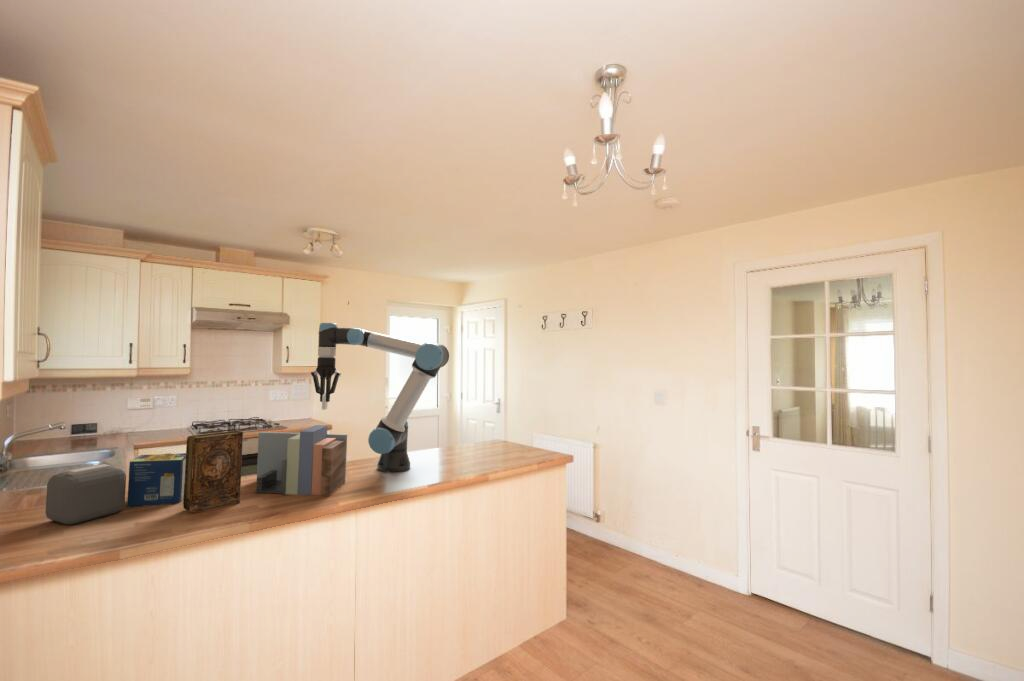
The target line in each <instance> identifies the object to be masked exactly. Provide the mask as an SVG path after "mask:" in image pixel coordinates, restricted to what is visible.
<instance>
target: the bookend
mask: <svg viewBox="0 0 1024 681" xmlns="http://www.w3.org/2000/svg"><path fill="white" fill-rule="evenodd" d="M286 469H287V457H286V458H284V459H282V476H281V480H277V470H271V471H269V472H267V473H265V474H264V475H262V476H260V477H258V478H257V477H256V490H255V492H254V494H255V493H256V494H257V493H258V494H259V493H261V494H265V493H267V494H281V495H286V494H285V491H286Z"/></svg>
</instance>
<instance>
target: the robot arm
mask: <svg viewBox="0 0 1024 681" xmlns="http://www.w3.org/2000/svg"><path fill="white" fill-rule="evenodd" d="M337 345H350V346H351V345H352V346H362V347H365V348H370V349H374V350H379V351H384V352H388V353H391V354H397V355H400V356H404V357H408V358H411V359H414V360H413V362H412V364H411V368H412V371H411V373H410V374H409V376H408V378H407V380H406V381H405V383H404V385H403V387H402V388H401V390H400V392H399V394H398V395H397V397H396V399H395V401H394V402H393V405H392V406H391V408H390V410H389V411H388V413H387V415H386V416H383V417H381V418H380V421H379V422H378V424H377V425H376V428H373V429H372V430H371V432H369V435H368V439H367V440H368V441H367V442H368V445H369V447H370V449H371V450H372V451H373V452H374V453H375V454H379V455H380V456H379V458H378V461H377V466H376V469H377V471H380V472H384V473H398V472H399V473H400V472H406V471H408V470H410V469H411V461H410V458H409V454H408V436H409V435H408V432H409V422H408V419H409V417H410V415H411V414H412V412H413V410H414V408H415V406H416V404H417V403H418V402H419V399H420V398H421V396H422V394H423V392H424V391H425V389H426V387H427V385H428V384H429V382H430V380H431V379H434V378H436V376H437V375H438V373H439V371H440V369H441V368H443V367H445V366H446V364H447V363H448V362H449V359H450V352H449V350H448V349H447V347H446V346H445V345H443V344H441V343H440V342H439V343H437V342H422V343H421V342H418V341H417V342H416V341H413V340H412V341H411V340H408V339H404V338H400V337H395V336H391V335H389V334H387V335H386V334H383V333H379V332H374V331H370V330H367V329H363V328H359V327H338V325H337V323H334V322H320V324H319V329H318V346H317V348H318V349H317V356H318V357H317V367H316V369H315V370H314V371H310V374H311V376H312V379H313V384H314V389H315V390H314V391H315V393H316V394H318V395H319V402H320V403H321V410H324V411H326V410H327V409H328V403H330V402H331V401H330V398H331V395H332V394H334V393H335V391H336V387H337V384H338V381H339V377H341V375H342V373H341V372H340V371H338V370H337V369H336V356H337V355H336V354H337ZM318 375H319V377H318ZM333 375H334V377H333ZM332 377H333V379H332ZM319 380H320V382H319Z"/></svg>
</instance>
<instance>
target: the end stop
mask: <svg viewBox="0 0 1024 681" xmlns="http://www.w3.org/2000/svg"><path fill="white" fill-rule="evenodd" d="M345 450H346V440H336V441H334V442H333V443H331V444H329V445H327V446H326V447H324V448H322V469H321V493H320V497H321V496H322V497H330V496H332V495H333V494H334V493H335V492H336V491H337V490H338V489H339V488H341V487H342V486H343V485H344V484H345V483H344V474H345Z"/></svg>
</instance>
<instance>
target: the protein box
mask: <svg viewBox="0 0 1024 681" xmlns="http://www.w3.org/2000/svg"><path fill="white" fill-rule="evenodd" d="M185 464H186V452H185V453H161V454H159V453H158V454H140V455H139V456H137V457H135V458H133V459H132V460H130V461H129V466H128V467H129V468H128V484H127V485H128V486H127V487H128V489H127V502H126V503H127V504H126V507H127V506H131V507H140V506H139V505H146V506H157V505H156V504H158V506H159V504H161V505H174V504H180V503H181V502H182V501H183V500H184V482H185Z"/></svg>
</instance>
